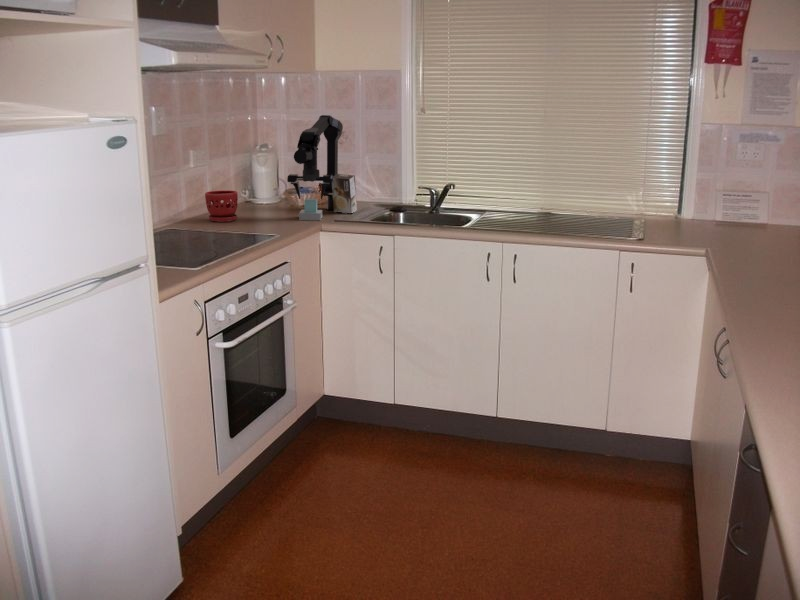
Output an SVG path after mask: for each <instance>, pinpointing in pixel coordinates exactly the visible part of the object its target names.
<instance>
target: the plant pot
mask: <svg viewBox="0 0 800 600" xmlns="http://www.w3.org/2000/svg"><path fill="white" fill-rule="evenodd" d="M238 196H239V195H238V191H236V190H225V189H224V190H211V191H206V192H205V194H204V198H205V199H204V200H205V204H206V206H205V207H206V208H207V212H208V213H209V215H208V219H209V220H210V221H212V222H216V223H225V222H234V221H235V220H236V219H237V218H238V214H236V212H237V210H238V199H239V197H238ZM222 201H223V202H222Z"/></svg>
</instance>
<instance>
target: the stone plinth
mask: <svg viewBox="0 0 800 600" xmlns="http://www.w3.org/2000/svg"><path fill="white" fill-rule="evenodd" d="M321 218H323V209H317V212H316V213H310V212H304V209H301V210H300V211H299V213H298V220H299V221H318V220H322V219H321Z"/></svg>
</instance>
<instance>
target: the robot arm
mask: <svg viewBox="0 0 800 600" xmlns="http://www.w3.org/2000/svg"><path fill="white" fill-rule="evenodd" d="M343 128H344V127H343V123H342V122H341V121H340V120H339V119H336V118H334V117H333V116H332V115H329V114H321V115H319V117H318V119H317V120H316V122H315V123H314V124H313V125H311V127H310V128H307V129H305V130H303V131H302V132H301V133H300V136H299V140H298V143H297V150H296V151H295V152H294V154H293V159H294V161H295V162H296V163H297V164H299V165H303V167H302V169H303V170H302V175H299V174H297V173H289V174H288V175H287V176H286V177H287V179H286V181H287V183H290V184H291V185H293V187H294V189H295V190H296V194H297V197H298V199H299V200H300V199H301V189H300V188H301V186H300V182H301V181H302V182H322V184H321V191H320V199H321V200H323V197H327V207H326V209H327V210H326V211H334V206H333V193H332V182H333V176H334V175H336V174H339V173H338V170H339V168H338V167H339V166H338V165H339V163H338V162H339V161H338V160H339V158H338V156H339V153H338V151H339V140H340V138H341V136H342V133H343ZM322 134H323V136H324V138H325V140H326V174H323V175H322V176H320V169H318V151H319V148H318V146H319V144H320V142H321V136H322Z"/></svg>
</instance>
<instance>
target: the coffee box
mask: <svg viewBox="0 0 800 600" xmlns="http://www.w3.org/2000/svg"><path fill="white" fill-rule="evenodd" d="M332 194H333V206H334V210H333V213H336V212H342V213H341V214H347V213H353V212H354V213H355V212H356V211H357V210H358V208H357V207H358V206H357V205H358V204H357V191H356V176H355V175H353V174H340V173H338V174H336V175H334V176H333V182H332ZM354 213H353V214H354Z"/></svg>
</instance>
